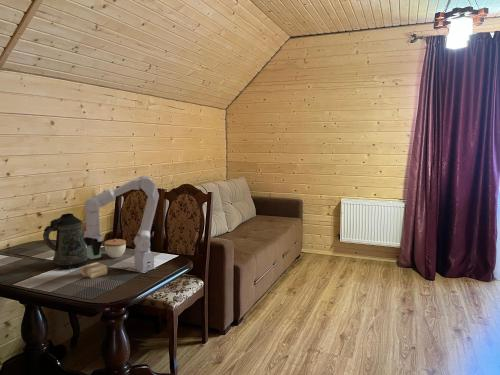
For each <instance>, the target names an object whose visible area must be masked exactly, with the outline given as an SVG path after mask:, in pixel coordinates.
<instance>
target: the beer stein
mask: <svg viewBox="0 0 500 375" xmlns="http://www.w3.org/2000/svg"><path fill="white" fill-rule="evenodd" d="M49 224H50V225H49V226H47V227H45V228H44V230H43V233H42V234H43V235H42V239H43V241H44V243H45V245H46V246H47V247H48V248H49V249H51V250H52V251H53V252H54V256H53V257H52V263H53V266H54V268H55V269H58V270H76V269H79V268H80V269H81V266H85V265H89V263H90V258H88V257H87V245H86V243H85V241H84V240H83V238H85V237H84V231H83V226H84V222H83V221H82V220H81V219H80V218H78V217H76V216H75V215H74V214H73V213H70V212H69V213H64V214H61V216H60V217H58V218H55V219H52V220H51V221H50V222H49ZM52 232H56V238H55V244H54V243H53V242H52V241H51V240H50V234H51V233H52Z"/></svg>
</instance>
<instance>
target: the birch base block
mask: <svg viewBox="0 0 500 375" xmlns="http://www.w3.org/2000/svg"><path fill="white" fill-rule="evenodd" d="M80 270H81V275H82V276H84V277H86V278H90V279H94V278H97V277H100V276H104V275H107V274H108V265H107V264H103V263H100V262H93V263H90V264H89V263H88V264H87V265H85V266H81V267H80Z"/></svg>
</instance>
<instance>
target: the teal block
mask: <svg viewBox="0 0 500 375" xmlns="http://www.w3.org/2000/svg"><path fill="white" fill-rule="evenodd" d="M86 248H87V257H88V258H89V260H93V259H98V258H101V257H102V249H101V248H102V247H101V248H100V252H99V255H96V256H94V254H93V248H92V245H90V246H87V245H86Z"/></svg>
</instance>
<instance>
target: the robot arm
mask: <svg viewBox="0 0 500 375" xmlns="http://www.w3.org/2000/svg"><path fill="white" fill-rule="evenodd" d="M140 189H141V190H142V191H143V192H144V193H145V195H146V196H147V199H146V203H145V206H144V210H143V211H144V212H143V215H142V220H141V224H140V227H139V230H138V231H137V234H136V235H135V237H134V239H133V243H134V245H135V247H134V249H133V250H134V251H133V253H134V255H133V256H134V257H133V258H134V265H131V266H130V268H131V269H133V270H135V271H138V272H140V273H144V272H148V271H150V270H151V271H152V270H155V269H157V268H156V266H155V256H154V253H152V251H151V230H152V227H153V226H152V225H153V223H154V222H153V221H154V218H155V214H156V210H157V206H158V201H159V199H160V194H159V192H158V188H157V184H156V182H155V181H154V180H153V179H152V178H150V177H148V176H147V175H141V176H139V177H136V178H134V179H131V180H129V181H127V182H125V183H124V184H122V185H120V186H118V187H117V188H114V189H104V190H102V192H101V193H99V194H97V195H95V194H94V195H93V197H88V198H87V199H86V200H85V202H84V207H85V231H83V237H84V238H83V240H84V241H85V245H86V247H87V246H90V245H92V248H93V254H94V256H96V255H99V252H100V248H102V245H103V244H104V242H105V241H104V240H105V239H104V237H103V236H102V234H101V229H100V227H101V226H100V214H99V211H100V210H99V209H100V208H103V207H104V206H107V205H110V204H111V203H113V202H114V201H115V200H116V199H117V198H116V197H118V196H120V195H121V196H122V195H123V194H124V193H125V194H126V193H127V192H130V191H131V190H134V191H135V190H136V191H139V190H140Z"/></svg>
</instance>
